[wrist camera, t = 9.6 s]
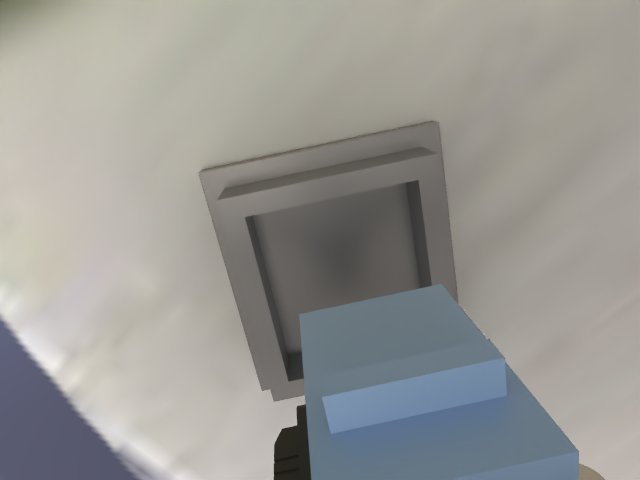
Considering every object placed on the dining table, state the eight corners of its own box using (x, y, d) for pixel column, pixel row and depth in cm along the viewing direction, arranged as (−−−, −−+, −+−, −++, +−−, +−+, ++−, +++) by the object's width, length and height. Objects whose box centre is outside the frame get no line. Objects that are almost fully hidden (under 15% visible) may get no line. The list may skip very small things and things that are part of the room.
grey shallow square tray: (432, 120, 23) (457, 125, 19) (456, 338, 27) (480, 372, 24) (201, 169, 23) (188, 183, 19) (262, 380, 27) (259, 420, 24)
